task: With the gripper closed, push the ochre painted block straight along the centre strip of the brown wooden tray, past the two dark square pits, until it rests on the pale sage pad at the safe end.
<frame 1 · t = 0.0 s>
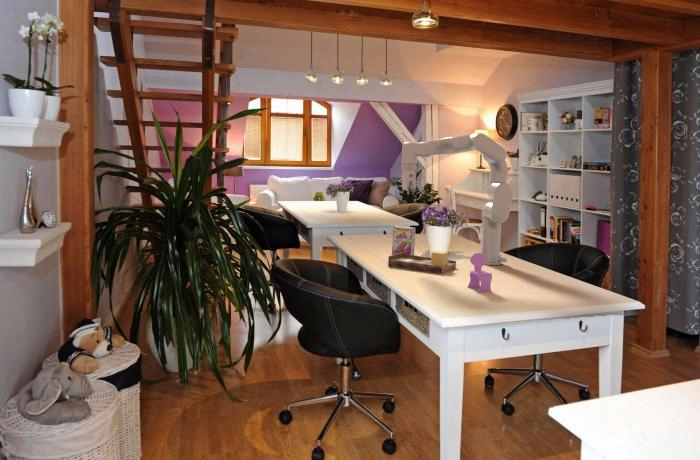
hand: (407, 201, 301), 31 cm above the table, tool pointing down, fingers open, 9 cm apart
candy bar box: (402, 258, 321), on the table
brown wooden tray: (421, 267, 296), on the table
toy chair: (479, 289, 254), on the table
block: (439, 264, 291), point 2 cm above the table, touching brown wooden tray
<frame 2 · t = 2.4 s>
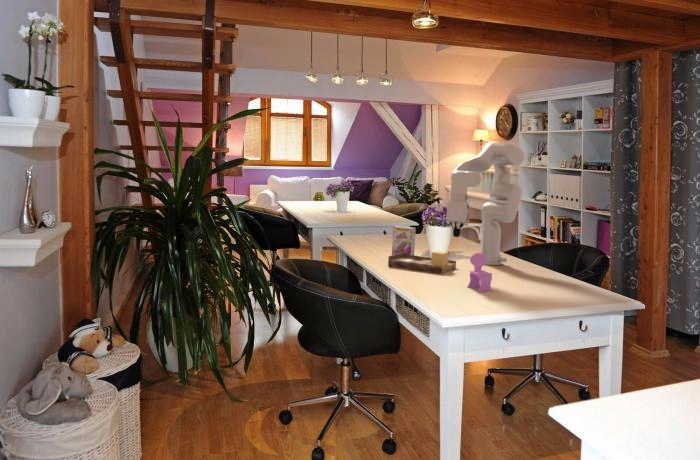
hand: (456, 236, 285), 17 cm above the table, tool pointing down, fingers closed
nothing on the table moved.
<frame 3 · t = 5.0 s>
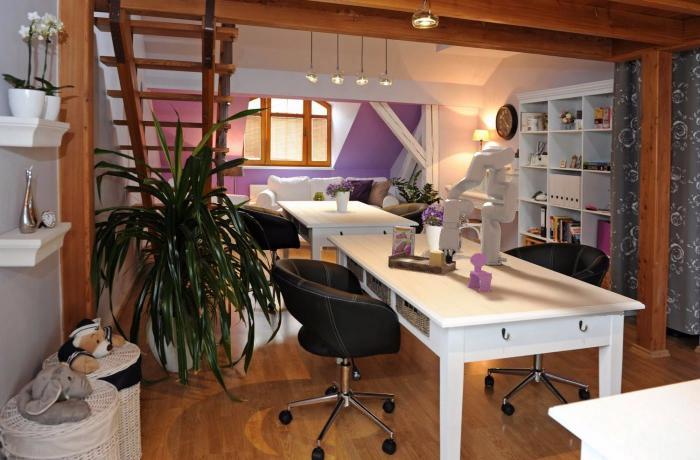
hand: (448, 263, 289), 4 cm above the table, tool pointing down, fingers closed
block: (437, 264, 292), point 2 cm above the table, touching gripper, brown wooden tray
everything else where it was.
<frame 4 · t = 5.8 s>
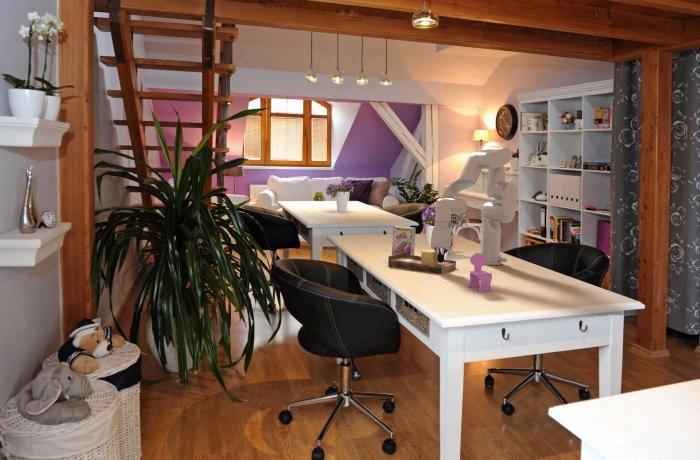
hand: (440, 262, 291), 4 cm above the table, tool pointing down, fingers closed
block: (429, 263, 294), point 3 cm above the table, touching gripper, brown wooden tray
everything else where it was.
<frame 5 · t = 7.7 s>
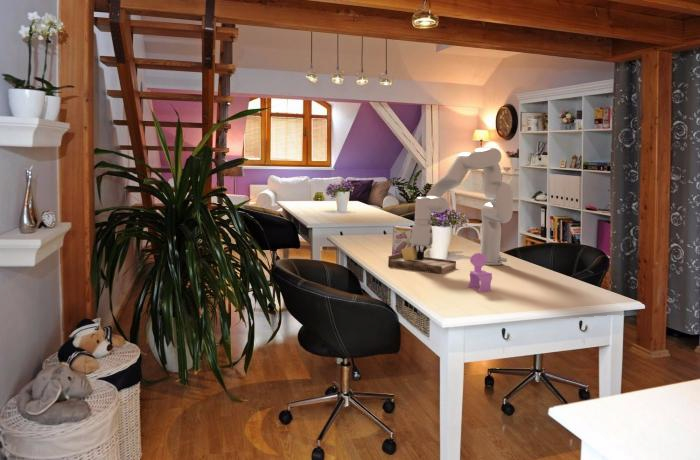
hand: (420, 259, 296), 4 cm above the table, tool pointing down, fingers closed
block: (412, 259, 298), point 3 cm above the table, tilted 19°, touching gripper, brown wooden tray
everything else where it was.
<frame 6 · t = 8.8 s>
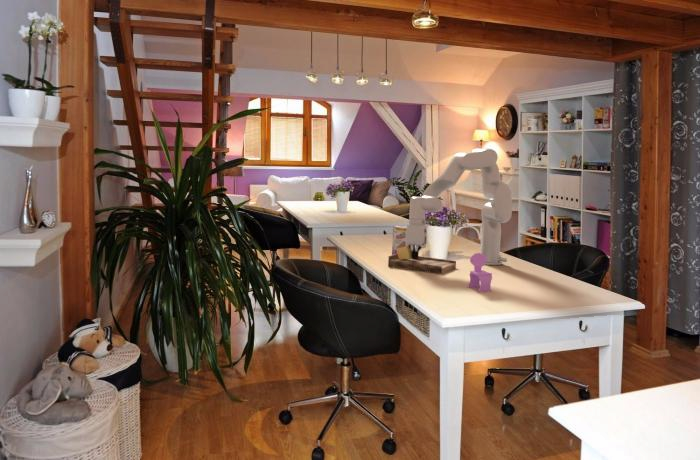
hand: (414, 258, 298), 4 cm above the table, tool pointing down, fingers closed
block: (407, 258, 300), point 3 cm above the table, tilted 19°, touching gripper, brown wooden tray
everything else where it was.
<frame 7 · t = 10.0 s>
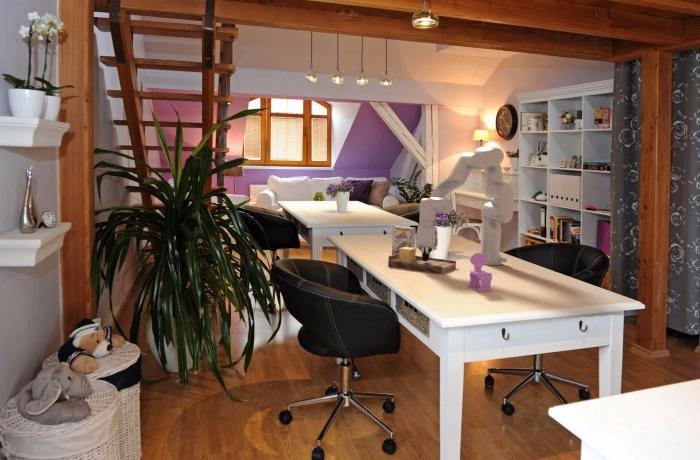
hand: (425, 260, 295), 3 cm above the table, tool pointing down, fingers closed
block: (407, 260, 300), point 2 cm above the table, touching brown wooden tray
everything else where it was.
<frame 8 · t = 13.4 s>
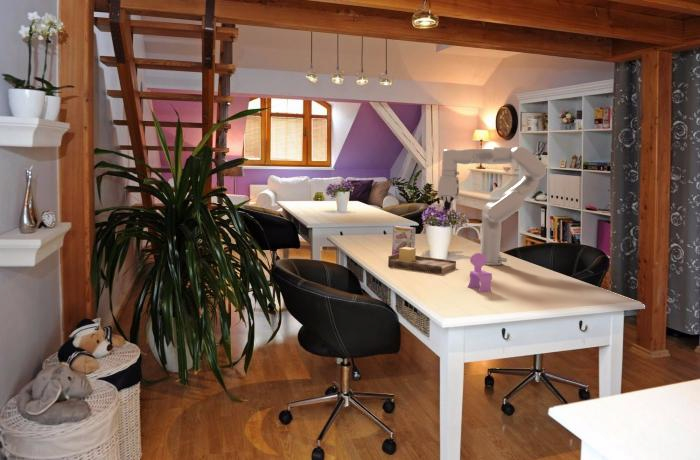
hand: (447, 209, 309), 27 cm above the table, tool pointing down, fingers closed
nothing on the table moved.
at the end: block inside the target area (1.1 cm from its centre), point 2.5 cm above the table; block tilted 0° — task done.
